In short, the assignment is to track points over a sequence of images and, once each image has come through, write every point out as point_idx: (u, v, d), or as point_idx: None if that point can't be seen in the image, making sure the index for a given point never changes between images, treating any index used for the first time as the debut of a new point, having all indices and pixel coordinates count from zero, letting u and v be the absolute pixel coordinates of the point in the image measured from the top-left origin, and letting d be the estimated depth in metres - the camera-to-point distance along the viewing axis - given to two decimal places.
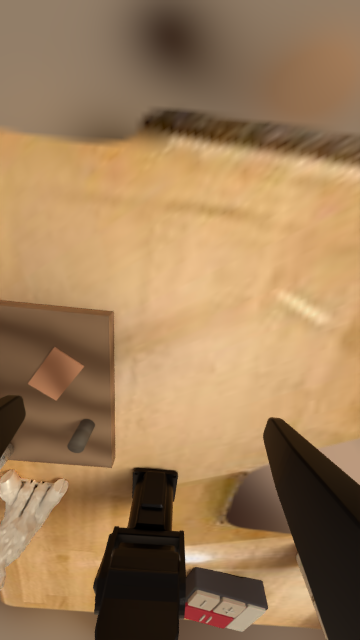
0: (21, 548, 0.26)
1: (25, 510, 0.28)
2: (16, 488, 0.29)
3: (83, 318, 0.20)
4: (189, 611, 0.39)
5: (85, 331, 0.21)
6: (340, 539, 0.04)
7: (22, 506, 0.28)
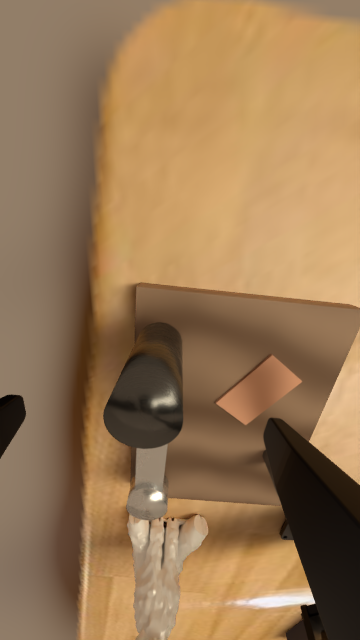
0: (175, 613, 0.20)
1: (167, 559, 0.22)
2: (147, 529, 0.23)
3: (328, 313, 0.14)
4: None
5: (323, 332, 0.15)
6: (340, 539, 0.04)
7: (161, 553, 0.22)
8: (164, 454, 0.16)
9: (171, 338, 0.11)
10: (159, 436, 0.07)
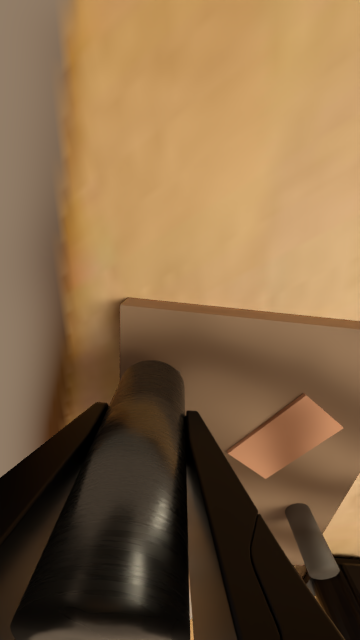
0: None
1: None
2: None
3: None
4: None
5: None
6: (200, 529, 0.04)
7: None
8: None
9: (167, 395, 0.07)
10: None
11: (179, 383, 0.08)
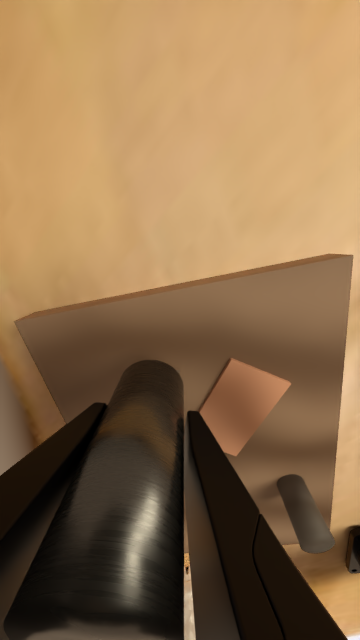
0: None
1: None
2: None
3: (292, 278, 0.09)
4: None
5: (295, 307, 0.10)
6: (202, 529, 0.04)
7: None
8: None
9: (165, 394, 0.07)
10: None
11: (178, 382, 0.08)
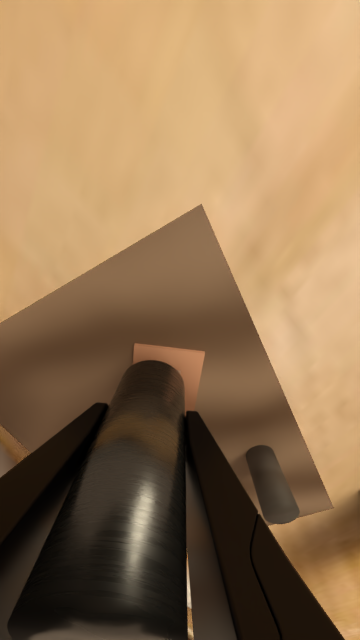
0: None
1: None
2: None
3: (153, 247, 0.09)
4: None
5: (171, 275, 0.09)
6: (200, 529, 0.04)
7: None
8: None
9: (166, 395, 0.07)
10: None
11: (179, 383, 0.08)
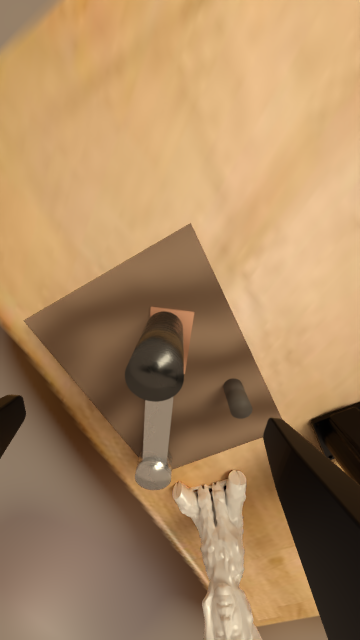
0: (241, 560, 0.21)
1: (217, 517, 0.23)
2: (193, 499, 0.25)
3: (163, 247, 0.15)
4: None
5: (173, 263, 0.15)
6: (340, 539, 0.04)
7: (211, 515, 0.24)
8: (168, 428, 0.19)
9: (173, 323, 0.13)
10: (166, 391, 0.10)
11: (180, 322, 0.14)
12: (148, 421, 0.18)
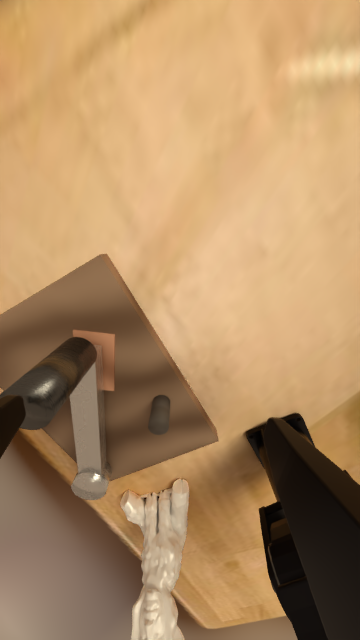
0: (175, 566, 0.22)
1: (159, 525, 0.24)
2: (140, 507, 0.26)
3: (77, 276, 0.16)
4: None
5: (89, 290, 0.17)
6: (340, 539, 0.04)
7: (154, 522, 0.25)
8: (98, 443, 0.20)
9: (75, 351, 0.14)
10: (39, 421, 0.11)
11: (89, 348, 0.15)
12: (77, 436, 0.19)
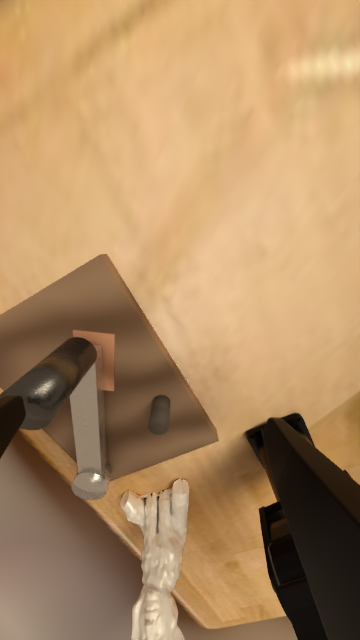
0: (175, 566, 0.22)
1: (159, 525, 0.24)
2: (140, 507, 0.26)
3: (77, 276, 0.16)
4: None
5: (89, 291, 0.17)
6: (340, 539, 0.04)
7: (154, 522, 0.25)
8: (98, 443, 0.20)
9: (75, 351, 0.14)
10: (39, 421, 0.11)
11: (89, 348, 0.15)
12: (77, 436, 0.19)
